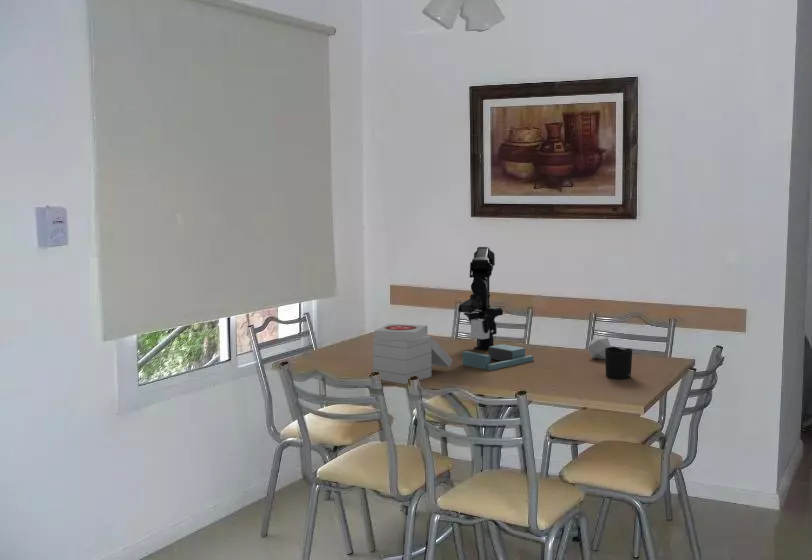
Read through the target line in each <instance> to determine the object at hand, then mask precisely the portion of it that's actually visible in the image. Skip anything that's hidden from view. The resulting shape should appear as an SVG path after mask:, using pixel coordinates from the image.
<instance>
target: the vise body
mask: <svg viewBox="0 0 812 560" xmlns="http://www.w3.org/2000/svg"><path fill="white" fill-rule="evenodd" d="M529 362H534V356H533V355H525V357H520V358H515V359H511V360H506V361H498V362H492V359H491V356H490V355H488V354H484V353H479V352H474V351H468V350H465V351H462V366H467V367H472V368H477V369H481V370H487V371H495V370H499V369H500V370H501V369H504V368H508V367H513V366H517V365H522V364H526V363H529Z"/></svg>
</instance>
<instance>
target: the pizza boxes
mask: <svg viewBox="0 0 812 560" xmlns="http://www.w3.org/2000/svg"><path fill="white" fill-rule="evenodd" d="M428 334H429V333H428V325H421V324H401V323H399V324H398V323H388V324H386V325H384V326H381V327H380V328H377V329H375V330H374V337H373V338H372V344H373V345H372V347H373V348H372V349H373V351H372V352H373V353H372V354H373V355H372V356H373V357H372V358H373V361H372V362H373V363H372V365H373V373H374V372H375V371H376V372H379V373H380V375H381V378H382V380H381V381H384V382H385V381H386V382H390V383H391V382H392V383H395V384H403V385H407V381H408V379H409V378H410V377H411V376H417V377H419V378H420V380H419V381H422V380H426V379H428V378H431V377H432V366H439V367H444V368H451V366H452V363H453V360H454V359H452V358H451V356H449V354H448V353H447V352H446V351H445V350H444V349H443V348H442V346H440V344H439V343H438V342H437V341H436V340H435V339H433V338H432V336H431V335H428Z"/></svg>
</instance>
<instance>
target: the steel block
mask: <svg viewBox="0 0 812 560" xmlns="http://www.w3.org/2000/svg"><path fill="white" fill-rule="evenodd" d="M470 338H473V339H476V340H477V339H487V338H489V331H488V333H485V329H484V319H471V324H470Z"/></svg>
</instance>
